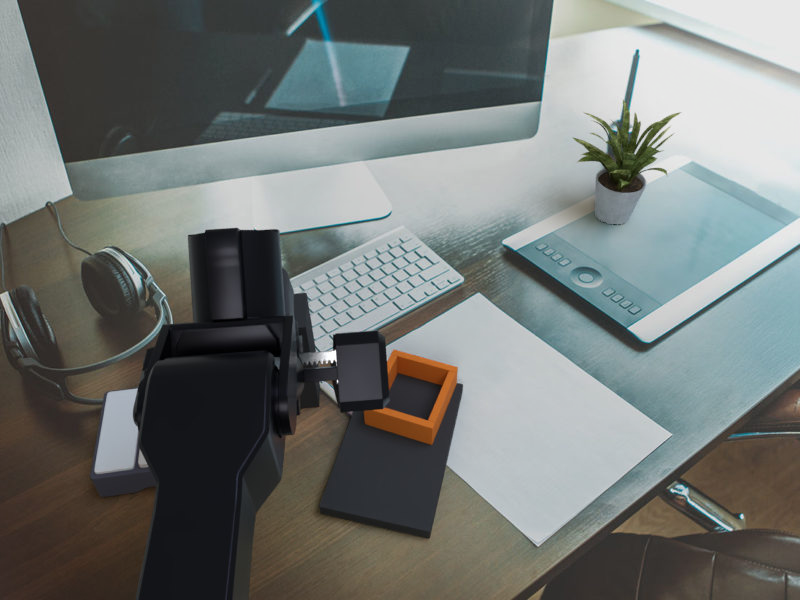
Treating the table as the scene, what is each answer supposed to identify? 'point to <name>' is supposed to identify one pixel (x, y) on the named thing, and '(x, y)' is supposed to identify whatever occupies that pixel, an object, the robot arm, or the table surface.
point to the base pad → (398, 450)
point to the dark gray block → (306, 348)
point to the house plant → (623, 167)
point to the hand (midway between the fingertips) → (283, 369)
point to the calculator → (119, 448)
